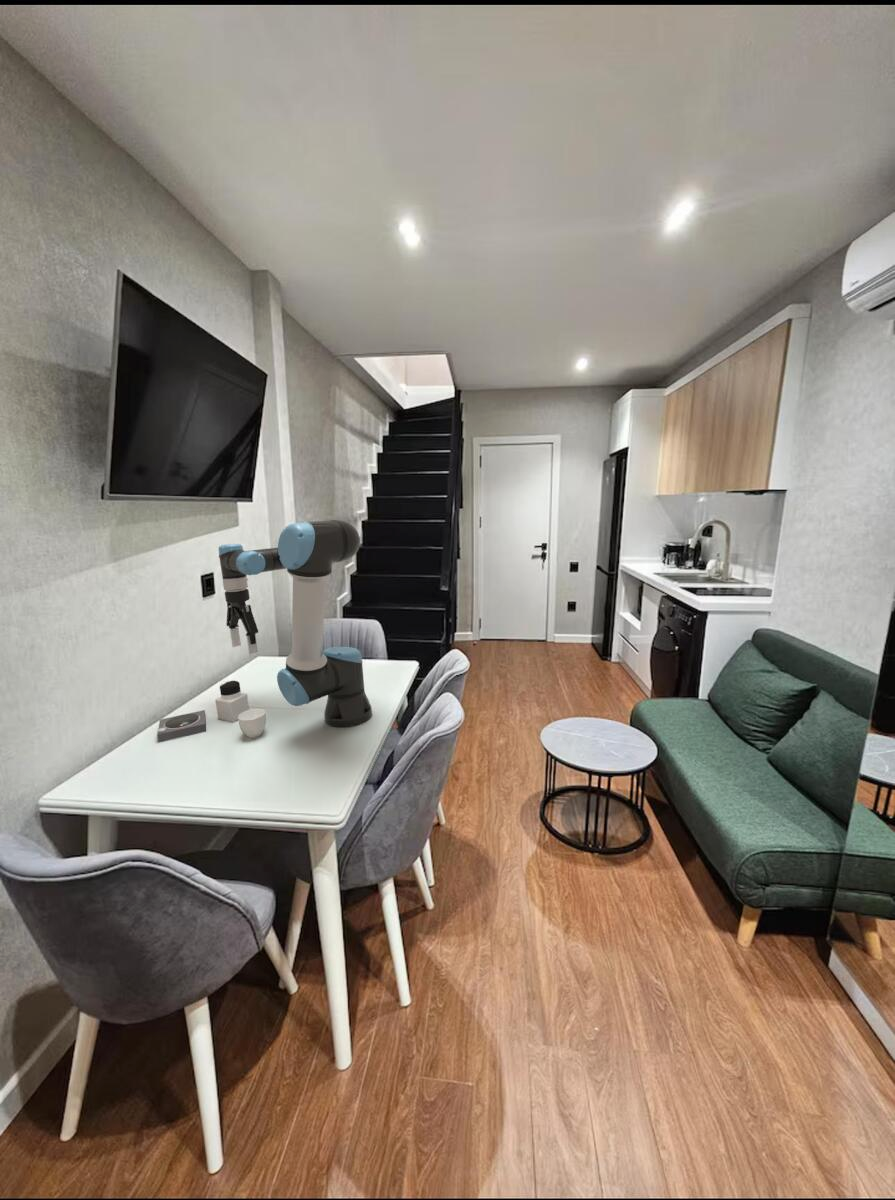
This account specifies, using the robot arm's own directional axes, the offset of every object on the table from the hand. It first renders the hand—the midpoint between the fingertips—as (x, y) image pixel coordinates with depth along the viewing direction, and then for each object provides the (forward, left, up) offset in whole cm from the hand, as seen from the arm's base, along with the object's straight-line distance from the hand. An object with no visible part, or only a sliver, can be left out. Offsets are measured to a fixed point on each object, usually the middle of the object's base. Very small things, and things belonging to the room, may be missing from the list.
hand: (244, 649), depth 165 cm
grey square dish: (-10, +22, -20) cm, 31 cm away
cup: (-26, +2, -20) cm, 33 cm away
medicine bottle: (-9, +7, -20) cm, 23 cm away
